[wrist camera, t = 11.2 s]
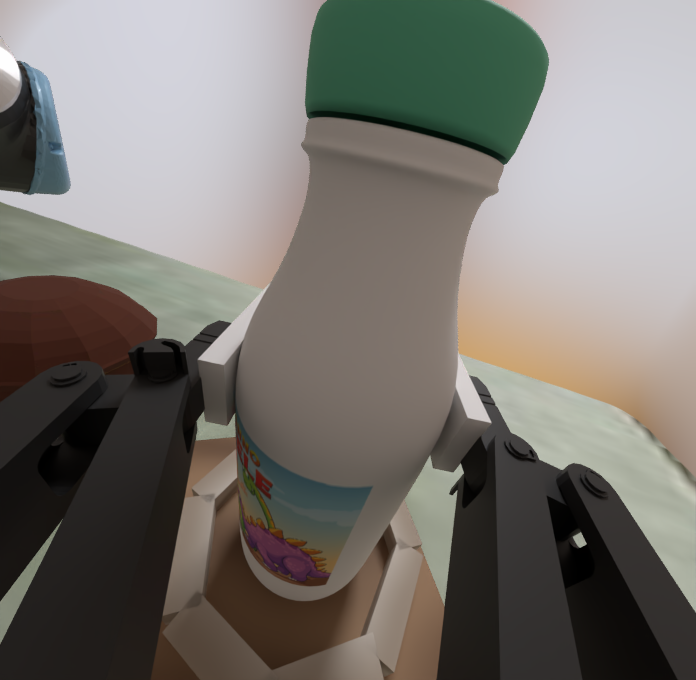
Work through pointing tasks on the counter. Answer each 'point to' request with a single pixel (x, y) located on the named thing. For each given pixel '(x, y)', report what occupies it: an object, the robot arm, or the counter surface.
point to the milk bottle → (372, 276)
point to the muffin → (66, 327)
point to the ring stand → (289, 601)
